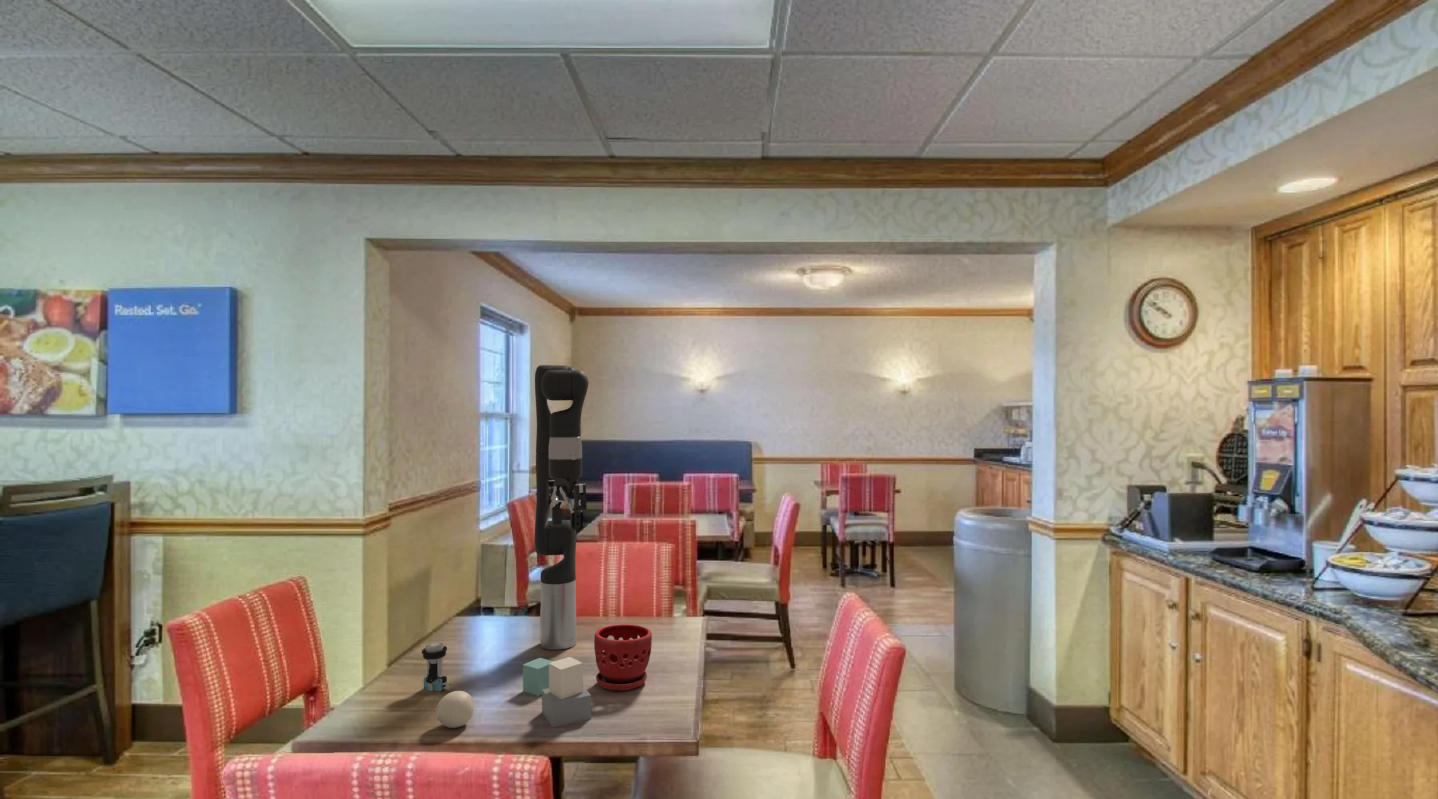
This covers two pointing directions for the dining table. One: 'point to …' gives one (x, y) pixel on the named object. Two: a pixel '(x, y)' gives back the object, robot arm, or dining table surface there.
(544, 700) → the slate base block
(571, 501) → the robot arm
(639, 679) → the plant pot
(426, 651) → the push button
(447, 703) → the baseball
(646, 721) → the dining table surface
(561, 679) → the cream block
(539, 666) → the teal block
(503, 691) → the dining table surface
